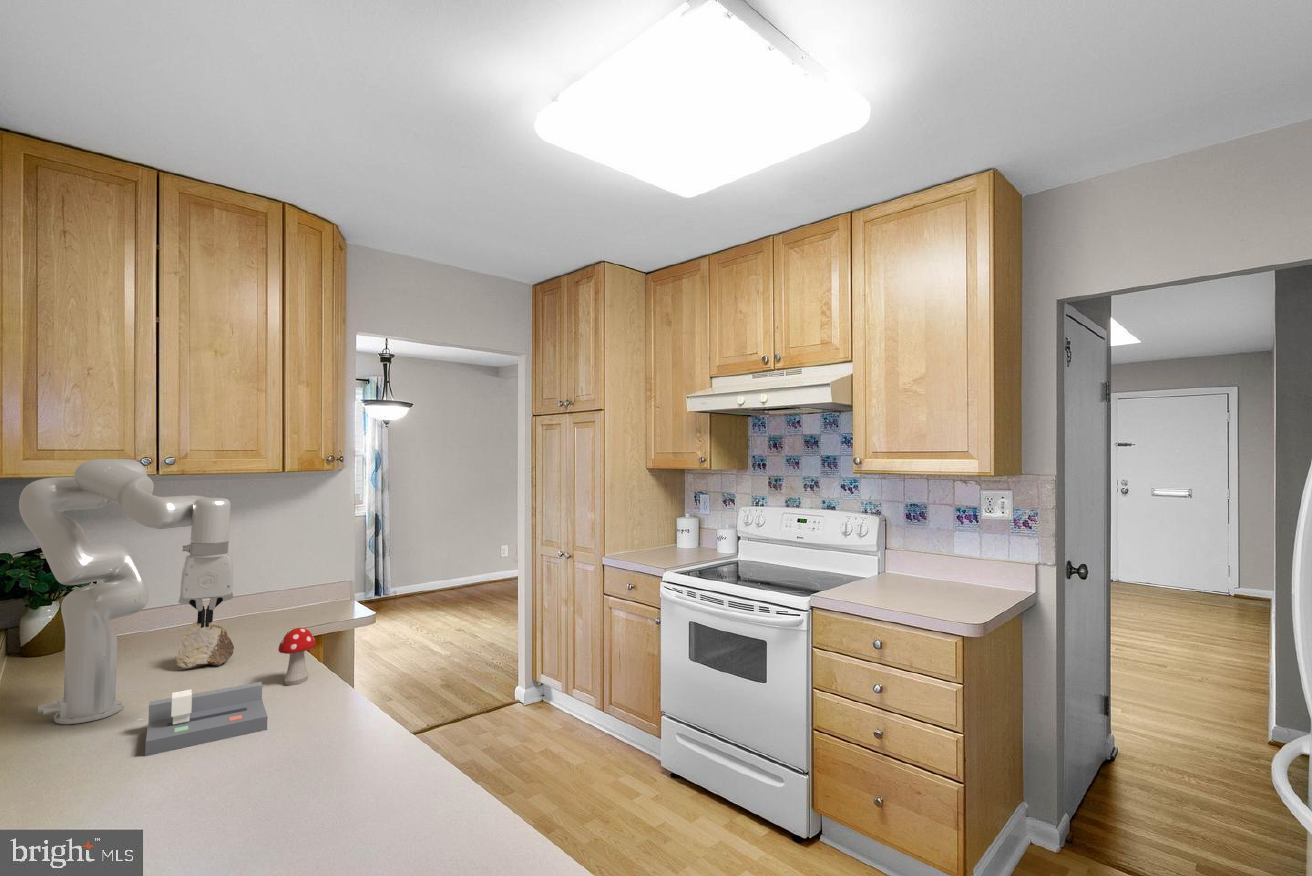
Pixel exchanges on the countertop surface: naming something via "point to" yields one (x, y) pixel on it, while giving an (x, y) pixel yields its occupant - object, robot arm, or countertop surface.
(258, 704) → the panel
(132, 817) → the countertop surface
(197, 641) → the rock
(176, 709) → the knob
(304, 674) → the decorative mushroom
